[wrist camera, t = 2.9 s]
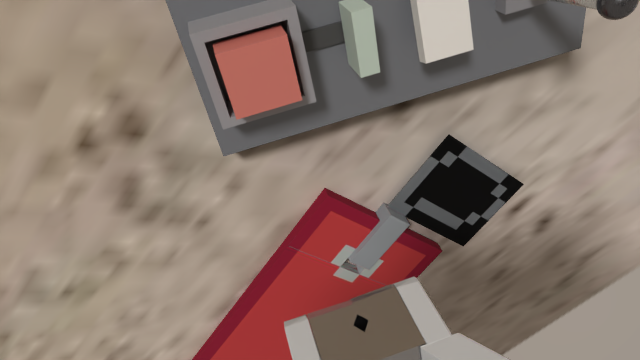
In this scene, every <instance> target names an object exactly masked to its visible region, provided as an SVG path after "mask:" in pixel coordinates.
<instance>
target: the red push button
mask: <svg viewBox="0 0 640 360" xmlns="http://www.w3.org/2000/svg"><path fill="white" fill-rule="evenodd" d="M212 45H213V49H214V53H215V57H216V60H217V63H218V66H219V69H220V72H221V75H222V78H223V81H224V84H225V86H226V89H227V92H228V95H229V98H230V101H231V104H232V107H233V110H234V113H235V116H236V119H241V118H244V117H248V116H251V115H254V114H258V113H261V112H264V111H268V110H271V109H275V108H278V107H281V106H285V105H288V104H291V103H295V102H298V101H301V100H302V97H301V92H300V88H299V84H298V80H297V75H296V71H295V67H294V63H293V58H292V54H291V50H290V46H289V41H288V37H287V34H286V32H285V31H284V29H283V28H282V27H281V25H278V26H275V27H271V28H267V29H264V30H260V31H257V32H253V33H249V34H246V35H242V36H239V37H235V38H232V39H228V40H224V41H221V42H217V43H214V44H212Z"/></svg>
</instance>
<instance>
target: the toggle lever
mask: <svg viewBox="0 0 640 360" xmlns="http://www.w3.org/2000/svg"><path fill="white" fill-rule="evenodd" d="M550 1H555V2H560V3H566V4H571V5H576V6H581V7H587V8H592V9H597V10H598V12H599V14H600V15H601V16H603V17H604V18H606V19H610V20H618V19H622V18H624V17H626V16H628V15H629V14H631V13H632V12H633V11H634V9H635V8H636V7H637V4H638V2H639V0H550Z"/></svg>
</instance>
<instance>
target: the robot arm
mask: <svg viewBox="0 0 640 360" xmlns="http://www.w3.org/2000/svg"><path fill="white" fill-rule="evenodd" d="M307 316H308V318H307ZM308 320H309V321H308ZM309 323H310V324H309ZM310 326H311V327H310ZM284 328H285V333H286V337H287V340H288V344H289V348H290V352H291V356H292V360H510V359H508V358H506V357H504V356H502V355H500V354H499V353H497V352H495V351H493V350H491V349H489V348H487V347H485V346H483V345H482V344H480V343H478V342H476V341H474V340H472V339H470V338H468V337H467V336H465V335H463V334H461V333H455V334H452V333H451V332H450V330H449V329H448V327H447V325H446V324H445V322H444V320H443V319H442V317H441V316H440V314H439V312H438V311H437V309H436V308H435V306H434V304H433V303H432V301H431V299H430V298H429V296H428V295H427V293H426V291H425V290H424V288H423V286H422V285H421V283H420V282H419V280H418V279H417V278H416V277H411V278H408V279H405V280H402V281H400V282H397V283H394V284H393V285H392V284H390V285H387V286H384V287H382V288H379V289H376V290H373V291H371V292H368V293H365V294H362V295H360V296H357V297H354V298H352V299H350V300H349V301H345V302H342V303H339V304H336V305H333V306H330V307H327V308H324V309H321V310H318V311H314V312H311V313H308V314H307V315H306V314H305V315H303V316H300V317H297V318H294V319H291V320H288V321H285V322H284ZM311 329H312V330H311ZM312 332H313V333H312Z"/></svg>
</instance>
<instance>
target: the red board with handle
mask: <svg viewBox="0 0 640 360" xmlns="http://www.w3.org/2000/svg"><path fill="white" fill-rule="evenodd" d="M522 185H523V183H521V182H520V181H518V180H517V179H515V178H514V177H512V176H511V175H509V174H508V173H506V172H505V171H503V170H502V169H500V168H499V167H497V166H496V165H494V164H493V163H491V162H490V161H488V160H487V159H485V158H484V157H482V156H481V155H479V154H478V153H476V152H475V151H473V150H472V149H470V148H469V147H467V146H466V145H464V144H463V143H461V142H460V141H458V140H457V139H455V138H454V137H452V136H451V135H448V136H447V137H446V138H445V139H444V140H443V142H442V143H441V144H440V145H439V146H438V147H437V149H436V150H435V151H434V152H433V153H432V154H431V156H430V157H429V158H428V159H427V160H426V161H425V163H424V164H423V165H422V166H421V167H420V168H419V170H418V171H417V172H416V173H415V174H414V175H413V177H412V178H411V179H410V180H409V181H408V182H407V184H406V185H405V186H404V187H403V188H402V189H401V191H400V192H399V193H398V194H397V195H396V196H395V198H394V199H393V200H392V201H391V202H390V203H389V204H388V205H387V204H385V203H383V204H382V205H381V206H380V208H379V209H378V210H377V211H376V212H373V211H371V210H369V209H367V208H365V207H363V206H361V205H359V204H357V203H355V202H353V201H351V200H349V199H347V198H345V197H343V196H341V195H339V194H337V193H334V192H332V191H330V190H328V189H326V188H324V190H323V191H322V192H321V194H320V195H319V196H318V197H317V199H316V200H315V201H314V203H313V204H312V205H311V207H310V208H309V209H308V210H307V212H306V213H305V214H304V216H303V217H302V218H301V219H300V221H299V222H298V223H297V225H296V226H295V227H294V229H293V230H292V231H291V232H290V234H289V235H288V236H287V238H286V239H285V240H284V241H283V243H282V244H281V245H280V247H279V248H278V249H277V251H276V252H275V253H274V254H273V256H272V257H271V258H270V260H269V261H268V262H267V263H266V265H265V266H264V267H263V269H262V270H261V271H260V273H259V274H258V275H257V276H256V278H255V279H254V280H253V282H252V283H251V284H250V285H249V287H248V288H247V289H246V291H245V292H244V293H243V295H242V296H241V297H240V298H239V300H238V301H237V302H236V304H235V305H234V306H233V307H232V309H231V310H230V311H229V313H228V314H227V315H226V317H225V318H224V319H223V320H222V322H221V323H220V324H219V326H218V327H217V328H216V329H215V331H214V332H213V333H212V335H211V336H210V337H209V339H208V340H207V341H206V342H205V344H204V345H203V346H202V348H201V349H200V350H199V351H198V353H197V354H196V355H195V357H194V358H193V359H192V360H292V356H291V352H290V348H289V344H288V340H287V337H286V333H285V328H284V322H285V321H288V320H291V319H294V318H297V317H300V316H303V315H305V314H306V315H307V314H308V313H311V312H314V311H318V310H321V309H324V308H327V307H330V306H333V305H336V304H339V303H342V302H345V301H349V300H350V299H352V298H354V297H357V296H360V295H362V294H365V293H368V292H371V291H373V290H376V289H379V288H382V287H384V286H387V285H390V284H392V285H393V284H394V283H397V282H400V281H402V280H405V279H408V278H411V277H416V278H417V277H418V276H419V275H420V274H421V273H422V272H423V271H424V270H425V269H426V268H427V266H428V265H429V264H430V263H431V262H432V261H433V260H434V259H435V258H436V257H437V256H438V255H439V254H440V253H441V252H442V250H441V248H440V247H439V245H438V244H437V243H436V242H434V241H432V240H430V239H428V238H426V237H424V236H422V235H420V234H418V233H416V232H414V231H412V230H410V229H408V228H407V227H408V226H409V225H410V224H409V222H408V221H407V219H406V217H407V218H409V219H411V220H413V221H415V222H417V223H419V224H421V225H423V226H424V227H426V228H428V229H430V230H432V231H434V232H436V233H438V234H440V235H442V236H444V237H446V238H448V239H450V240H452V241H454V242H456V243H458V244H460V245H462V246H464V245H465V244H466V243H467V242H468V241H469V240H470V239H471V238H472V237H473V236H474V235H475V234H476V233H477V232H478V231H479V230H480V229H481V228H482V227H483V226H484V225H485V224H486V223H487V222H488V221H489V219H490V218H491V217H492V216H493V215H494V214H495V213H496V212H497V211H498V210H499V209H500V208H501V207H502V206H503V205H504V204H505V203H506V202H507V201H508V200H509V199H510V198H511V197H512V196H513V195H514V194H515V193H516V192H517V191H518V190H519V189H520V187H521V186H522ZM347 259H349V261H350V262H351V263H353V264H355V265H356V266H355V265H353V264H350V263H348V262H345V261H346V260H347ZM307 318H308V316H307ZM308 321H309V320H308ZM309 324H310V323H309ZM310 327H311V326H310ZM311 330H312V329H311ZM312 333H313V332H312Z"/></svg>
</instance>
